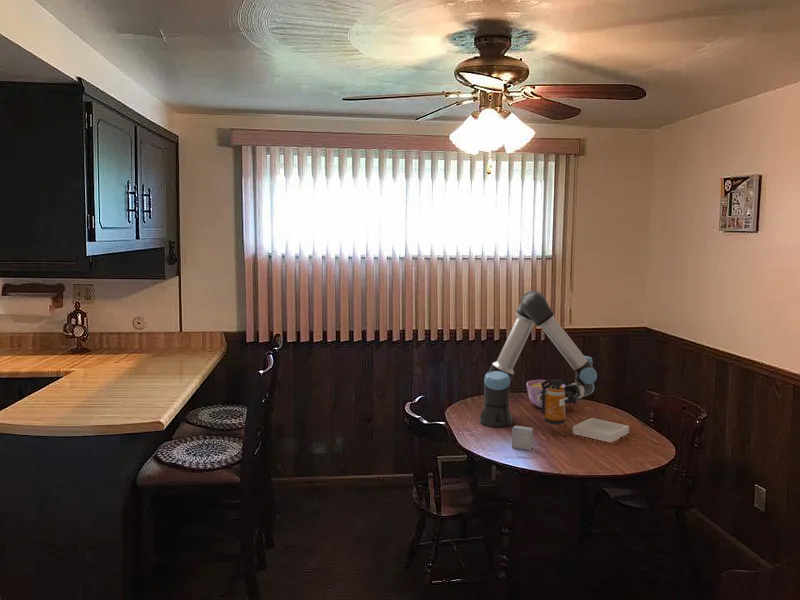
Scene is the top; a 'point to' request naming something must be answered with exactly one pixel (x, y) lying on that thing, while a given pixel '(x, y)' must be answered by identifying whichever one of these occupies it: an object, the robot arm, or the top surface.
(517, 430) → the medicine box
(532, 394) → the bowl of food
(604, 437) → the tray
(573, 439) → the top surface
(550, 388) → the canister
